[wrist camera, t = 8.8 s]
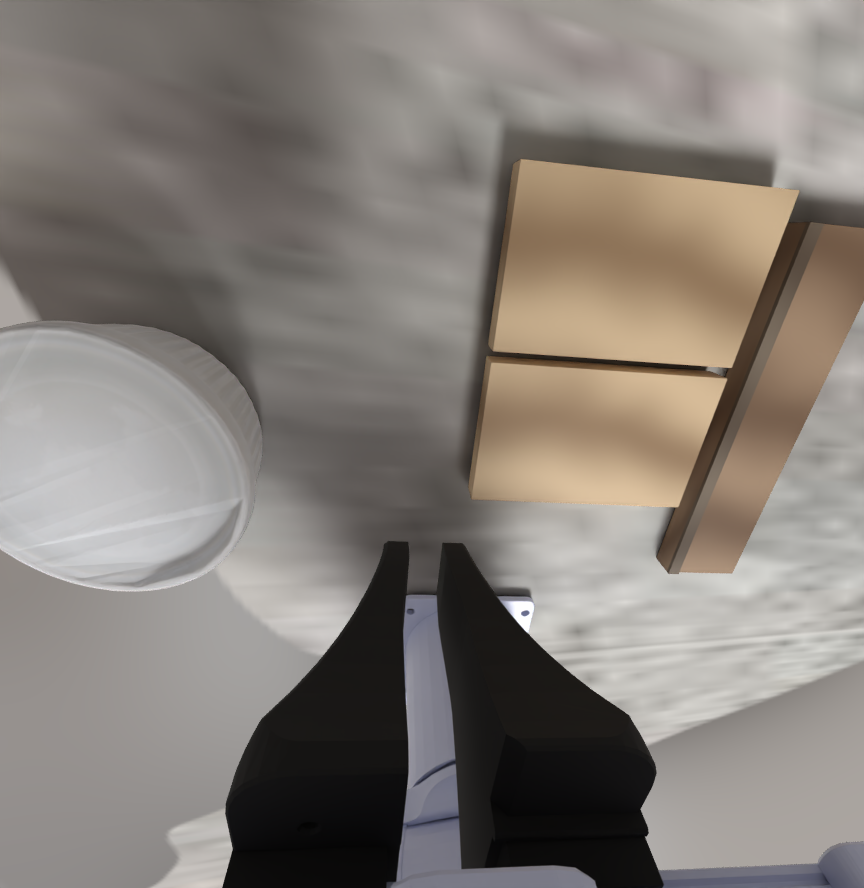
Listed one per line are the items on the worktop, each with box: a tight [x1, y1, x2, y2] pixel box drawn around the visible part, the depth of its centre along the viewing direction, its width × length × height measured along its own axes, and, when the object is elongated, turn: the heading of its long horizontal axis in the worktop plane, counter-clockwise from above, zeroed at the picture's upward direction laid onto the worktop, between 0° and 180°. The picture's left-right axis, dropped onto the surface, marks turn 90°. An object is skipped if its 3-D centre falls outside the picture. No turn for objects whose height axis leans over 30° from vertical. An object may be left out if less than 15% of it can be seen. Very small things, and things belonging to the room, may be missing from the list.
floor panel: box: [657, 222, 864, 574], centre depth 22 cm, size 18×4×1 cm, turn 175°
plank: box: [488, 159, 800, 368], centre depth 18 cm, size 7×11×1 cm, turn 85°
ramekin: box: [0, 320, 263, 591], centre depth 19 cm, size 11×11×5 cm
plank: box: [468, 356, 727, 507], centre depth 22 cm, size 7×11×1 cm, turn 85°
